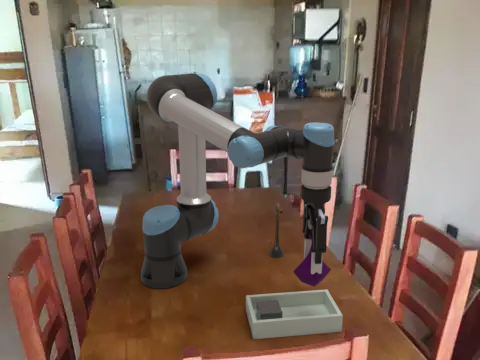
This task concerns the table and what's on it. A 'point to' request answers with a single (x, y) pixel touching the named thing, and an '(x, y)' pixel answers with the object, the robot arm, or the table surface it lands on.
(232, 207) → the table surface
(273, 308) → the block
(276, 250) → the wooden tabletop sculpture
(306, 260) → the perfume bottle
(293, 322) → the tray
